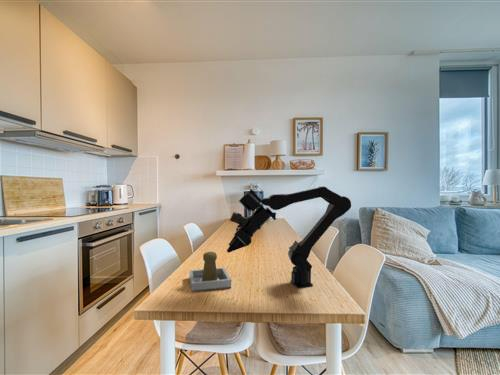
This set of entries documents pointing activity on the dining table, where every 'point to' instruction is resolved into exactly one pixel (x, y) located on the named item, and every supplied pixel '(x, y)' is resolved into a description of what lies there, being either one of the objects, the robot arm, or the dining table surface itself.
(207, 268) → the cork
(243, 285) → the dining table surface
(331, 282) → the dining table surface
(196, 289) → the walled pen
